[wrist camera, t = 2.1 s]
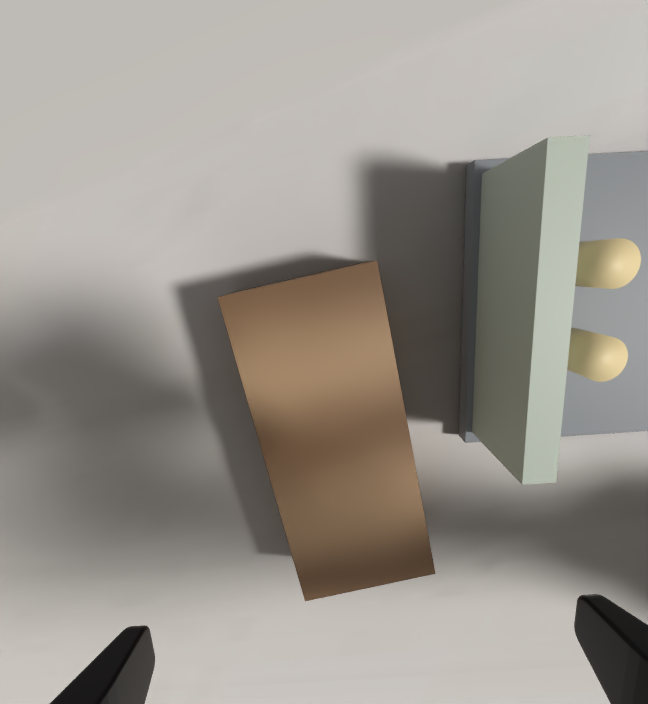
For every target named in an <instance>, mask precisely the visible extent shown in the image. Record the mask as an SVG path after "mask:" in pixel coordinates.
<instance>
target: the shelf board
mask: <svg viewBox="0 0 648 704" xmlns="http://www.w3.org/2000/svg"><path fill="white" fill-rule="evenodd" d="M218 301H219V304H220V308H221V311H222V315H223V318H224V322H225V325H226V329H227V332H228V335H229V339H230V342H231V346H232V349H233V353H234V356H235V360H236V363H237V367H238V370H239V374H240V377H241V380H242V384H243V387H244V391H245V394H246V398H247V401H248V405H249V408H250V412H251V415H252V419H253V422H254V425H255V429H256V432H257V436H258V439H259V443H260V446H261V450H262V453H263V457H264V460H265V464H266V467H267V471H268V474H269V477H270V481H271V484H272V488H273V491H274V495H275V498H276V502H277V505H278V509H279V512H280V516H281V519H282V522H283V526H284V529H285V533H286V536H287V540H288V543H289V547H290V550H291V554H292V557H293V561H294V564H295V567H296V571H297V574H298V578H299V581H300V585H301V588H302V592H303V595H304V599H305V601H308V600H313V599H318V598H323V597H327V596H332V595H337V594H342V593H346V592H351V591H356V590H360V589H365V588H370V587H375V586H379V585H384V584H389V583H393V582H398V581H403V580H408V579H412V578H417V577H422V576H427V575H431V574H435V570H434V564H433V559H432V553H431V548H430V543H429V537H428V532H427V526H426V521H425V516H424V510H423V505H422V499H421V494H420V489H419V483H418V478H417V473H416V467H415V462H414V456H413V451H412V446H411V440H410V435H409V429H408V424H407V419H406V413H405V408H404V402H403V397H402V392H401V386H400V381H399V375H398V370H397V365H396V359H395V354H394V349H393V343H392V338H391V332H390V327H389V322H388V316H387V311H386V305H385V300H384V295H383V289H382V284H381V278H380V273H379V268H378V262H377V261H369V262H363V263H359V264H355V265H350V266H346V267H342V268H337V269H333V270H328V271H324V272H320V273H315V274H311V275H307V276H302V277H298V278H294V279H289V280H285V281H281V282H276V283H272V284H268V285H263V286H259V287H255V288H250V289H246V290H242V291H237V292H233V293H230V294H227V295H224V296H220V297H218Z"/></svg>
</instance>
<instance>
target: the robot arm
mask: <svg viewBox="0 0 648 704" xmlns="http://www.w3.org/2000/svg"><path fill="white" fill-rule="evenodd" d="M574 628H575V633H576V636H577V639H578V641H579V643H580V645H581V647H582V649H583V651H584V653H585V655H586V657H587V659H588V661H589V662H590V664H591V666H592V668H593V670H594V672H595V674H596V676H597V678H598V680H599V682H600V684H601V686H602V688H603V690H604V691H605V693H606V695H607V697H608V699H609V701H610V703H611V704H648V625H647V624H645V623H644V622H642V621H641V620H639V619H638V618H636V617H635V616H633V615H631V614H630V613H628V612H627V611H625V610H624V609H622V608H621V607H619V606H618V605H616V604H614V603H613V602H611V601H610V600H608V599H607V598H605V597H603V596H601V595H598V594H592V595H581V596H580V597H579V598H578V600H577V607H576V615H575V623H574ZM154 665H155V653H154V649H153V644H152V639H151V634H150V630H149V628H148V627H147V626H145V625H144V626H131V627H128V628H126V629H125V630H123V631H122V632H121V633H120V634H119V635H118V636H117V637H116V638H115V639H114V640H113V641H112V642H111V643H110V644H109V645H108V646H107V647H106V648H105V649H104V650H103V651H102V652H101V653H100V654H99V655H98V656H97V657H96V658H95V659H94V660H93V661H92V662H91V663H90V664H89V665H88V666H87V667H86V668H85V669H84V670H83V671H82V672H81V673H80V674H79V675H78V676H77V677H76V678H75V679H74V680H73V681H72V682H71V683H70V684H69V685H68V686H67V687H66V688H65V689H64V690H63V691H62V692H61V693H60V694H59V695H58V696H57V697H56V698H55V699H54V700H53V701H52V702H51V703H50V704H145V700H146V696H147V693H148V689H149V685H150V681H151V678H152V674H153V670H154Z"/></svg>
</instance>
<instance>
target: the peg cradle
mask: <svg viewBox="0 0 648 704" xmlns="http://www.w3.org/2000/svg"><path fill="white" fill-rule="evenodd" d="M589 139H590V135H587V136H568V137H549V138H546V139H544V140H543V141H541V142H539V143H537V144H535V145H533V146H532V147H530V148H528V149H526V150H524V151H522V152H521V153H519V154H517V155H515V156H513V157H511V158H506V159H488V160H474V161H473V162H471V163H470V164H468V165H467V167H466V202H465V236H464V270H463V304H462V339H461V373H460V407H459V436H460V437H461V438H462V439H463V441H464V442H465V443H468V442H482V443H483V444H484V445H485V446H486V447H487V448H488V449H489V450H490V452H491V453H492V454H493V455H494V456H495V457H496V458H497V459H498V460H499V461H500V462H501V463H502V464H503V465H504V466H505V467H506V468H507V469H508V470H509V471H510V472H511V473H512V475H513V476H514V477H515V478H516V479H517V480H518V481H519V482H520V483H521V484H522V485H526V484H541V483H556V479H557V469H558V458H559V448H560V438H561V436H576V435H591V434H607V433H622V432H637V431H648V151H638V152H619V153H600V154H588V149H589Z"/></svg>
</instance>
